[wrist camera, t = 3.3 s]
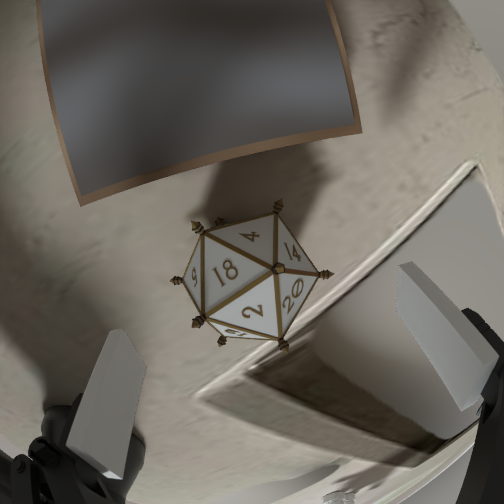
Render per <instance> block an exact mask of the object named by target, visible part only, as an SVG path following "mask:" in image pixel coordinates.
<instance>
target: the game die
mask: <svg viewBox="0 0 504 504" xmlns="http://www.w3.org/2000/svg"><path fill="white" fill-rule="evenodd" d="M274 203H275V202H274ZM273 207H274V210H273V212H271V213H267V214H263V215H259V216H255V217H251V218H248V219H244V220H240V221H236V222H233V223H229V224H225V225H224V223H225V222H223V219H220V218H217V219H216V221H215V222H216V225H217V226H218V227H214V228H211V229H207V230H204V227H203V226H202V225H201V223H200V222H194V221H191V222H192V231H193V230H194V231H195V233H198V234H200V237H199V239H198V242H197V244H196V246H195V249H194V251H193V254H192V256H191V258H190V261H189V263H188V266H187V268H186V271H185V273H184V276H183V277H182V278H181V277H179V276H178V277H176V276H174V278H172V279H171V280H170V282H172V283H173V284H174V285H176V284H178V285H179V284H181V283H183V285H184V287H185V288H186V290H187V292H188V294H189V296H190V298H191V299H192V301H193V303H194V305H195V307H196V308H197V310H198V312H199V314H200V316H196V318H195V319H192V320H193V323H192V328H200V327H201V325H203V324H204V322H205V321H206V322H207V323H208V324H209V325H210V326H211V327H213V328H214V329H215V330H216V331H217V332H218V333H220V334H221V336H220V337H219V339H218V341H217V342H218V345H219V347H220V346H222V345H225V344H226V343H225V342H226V341H227V340H226V337H230V338H243V339H257V340H275V341H278V343H279V345H278V347H280V350H282V351H284V352H286V353H288V351H289V344H287V341H285V340H284V339H283V338H284V336H285V334H286V333H287V331H288V329H289V328H290V326H291V324H292V323H293V321H294V319H295V318H296V316H297V314H298V313H299V311H300V309H301V308H302V306H303V304H304V303H305V301H306V299H307V297H308V296H309V294H310V292H311V291H312V289H313V287H314V285H315V284H316V282H317V280H318V278H323V279H328V278H330V277H331V276H332V275H334V273H332V272H330V271H328V270H327V271H324V270H323V271H321V272H318V271H317V269H316V268H315V266H314V265H313V263H312V262H311V260H310V259H309V257H308V256H307V255H306V253H305V252H304V250H303V249H302V247H301V246H300V244H299V243H298V242H297V240H296V239H295V237H294V236H293V234H292V233H291V232H290V230H289V229H288V227H287V226H286V225H285V223H284V222H283V220H282V219H281V218H280V216H279V215H278V214H279V212H280V211H281V209H282V207H283V202H282V198H281V199H280V200H278V201H277V202H276V203H275V205H274V206H273Z"/></svg>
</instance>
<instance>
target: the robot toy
mask: <svg viewBox="0 0 504 504" xmlns="http://www.w3.org/2000/svg"><path fill="white" fill-rule="evenodd" d="M355 500H356V498H355V495H354V493H348V494H344V492H342V491H341V492H335V493H331V494H328V495H325V496H323V497H322V502H323V504H354V501H355Z"/></svg>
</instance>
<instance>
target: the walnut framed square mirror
mask: <svg viewBox="0 0 504 504" xmlns="http://www.w3.org/2000/svg"><path fill="white" fill-rule="evenodd" d="M36 1H37V18H38V30H39V40H40V48H41V56H42V63H43V69H44V75H45V81H46V86H47V91H48V96H49V101H50V105H51V110H52V114H53V118H54V123H55V127H56V130H57V134H58V138H59V142H60V145H61V149H62V152H63V156H64V159H65V162H66V166H67V169H68V172H69V175H70V178H71V181H72V184H73V187H74V190H75V193H76V196H77V198H78V201H79V204H80V207H81V206H84V205H86V204H89V203H92V202H94V201H97V200H100V199H102V198H105V197H108V196H111V195H113V194H116V193H119V192H122V191H125V190H128V189H131V188H133V187H136V186H139V185H142V184H146V183H149V182H152V181H155V180H158V179H161V178H164V177H168V176H171V175H174V174H178V173H181V172H185V171H188V170H191V169H195V168H199V167H202V166H206V165H210V164H213V163H217V162H221V161H225V160H229V159H233V158H237V157H241V156H245V155H249V154H253V153H258V152H262V151H267V150H271V149H276V148H281V147H286V146H290V145H295V144H301V143H306V142H311V141H317V140H322V139H328V138H334V137H340V136H347V135H354V134H360V133H362V127H361V121H360V115H359V110H358V104H357V99H356V94H355V89H354V85H353V80H352V76H351V71H350V67H349V63H348V59H347V55H346V51H345V47H344V43H343V40H342V36H341V32H340V29H339V25H338V22H337V19H336V15H335V12H334V9H333V6H332V3H331V0H36Z"/></svg>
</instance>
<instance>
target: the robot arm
mask: <svg viewBox="0 0 504 504" xmlns="http://www.w3.org/2000/svg"><path fill="white" fill-rule="evenodd" d="M396 312H397V314H398V315H399V316H400V318H401V319H402V321H403V322H404V323H405V325H406V326H407V328H408V329H409V330H410V332H411V334H412V335H413V336H414V338H415V339H416V341H417V342H418V344H419V345H420V347H421V348H422V350H423V351H424V353H425V354H426V356H427V357H428V359H429V360H430V362H431V363H432V365H433V367H434V368H435V370H436V371H437V373H438V374H439V376H440V378H441V379H442V381H443V382H444V384H445V386H446V387H447V389H448V391H449V392H450V394H451V395H452V397H453V399H454V400H455V402H456V404H457V406H458V407H459V409H460V411H463V410H465V409H466V408H468V407H470V406H472V405H473V404H475V403H476V402H477V400H478V398H479V396H480V395H482V397H483V398H484V401H483V403H482V404H481V406H480V408H479V409H478V411H477V414H476V415H479V414H480V412H481V415H480V420H479V425H478V430H477V435H476V439H475V443H474V447H473V451H472V455H471V459H470V462H469V466H468V469H467V472H466V476H465V479H464V482H463V485H462V488H461V491H460V493H459V496H458V499H457V501H456V504H504V342H503V341H502V340H501V339H500V337H499V336H498V335H497V334H496V333H495V332H494V331H493V330H492V329H491V328H490V326H489V325H488V324H487V323H485V321H484V320H483V318H482V317H481V316H480V315H479V314H478V313H476V312H474V311H472V310H471V309H469V308H466V309H464V310H461V311H460V310H459V309H458V308H457V306H456V305H455V304H454V303H453V302H452V301H451V300H450V299H449V298H448V297H447V296H446V295H445V294H444V293H443V292H442V291H441V290H440V289H439V288H438V286H437V285H436V284H435V283H433V281H432V280H431V279H430V278H428V276H427V275H426V274H425V273H424V272H423V271H422V270H420V269H419V268H418V267H417V266H416V265H415V264H414V263H413V262H408V263H405V264H402V265H399V266H398V291H397V308H396ZM146 368H147V367H146V365H145V364H144V362H143V361H142V359H141V358H140V356H139V354H138V353H137V351H136V350H135V348H134V346H133V345H132V343H131V341H130V340H129V338H128V336H127V335H126V333H125V331H124V329H116V330H110V332H109V334H108V336H107V339H106V341H105V343H104V345H103V348H102V350H101V352H100V355H99V357H98V359H97V362H96V364H95V367H94V369H93V372H92V374H91V376H90V379H89V381H88V384H87V387H86V389H85V392H84V393H80V394H79V395H78V397H77V398H76V399H75V400H74V402H73V404H72V407H66V406H55V407H51V408H49V409H48V410H47V411H46V413H45V416H44V418H43V421H42V424H41V432H42V436H40V437H38V438H36V439H35V440H33V441H32V443H31V444H30V446H29V450H28V456H29V457H30V458H31V459H33V460H31V459H30V458H29V457H27V456H26V455H24V454H20V455H18V456H16V457H15V458H14V459H12V458H11V457H10V456H8V455H7V454H6V453H4V452H3V451H2V450H0V504H125V500H126V495H127V493H128V491H129V489H130V488H131V486H132V484H133V482H134V481H135V479H136V477H137V475H138V473H139V471H140V470H141V469H142V467H143V464H144V457H145V448H144V446H143V444H142V443H141V441H140V440H139V439H138V438H137V437H135V436H134V435H133V434H132V433H131V432H132V428H133V423H134V418H135V414H136V409H137V405H138V401H139V397H140V392H141V388H142V384H143V380H144V376H145V372H146Z"/></svg>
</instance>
